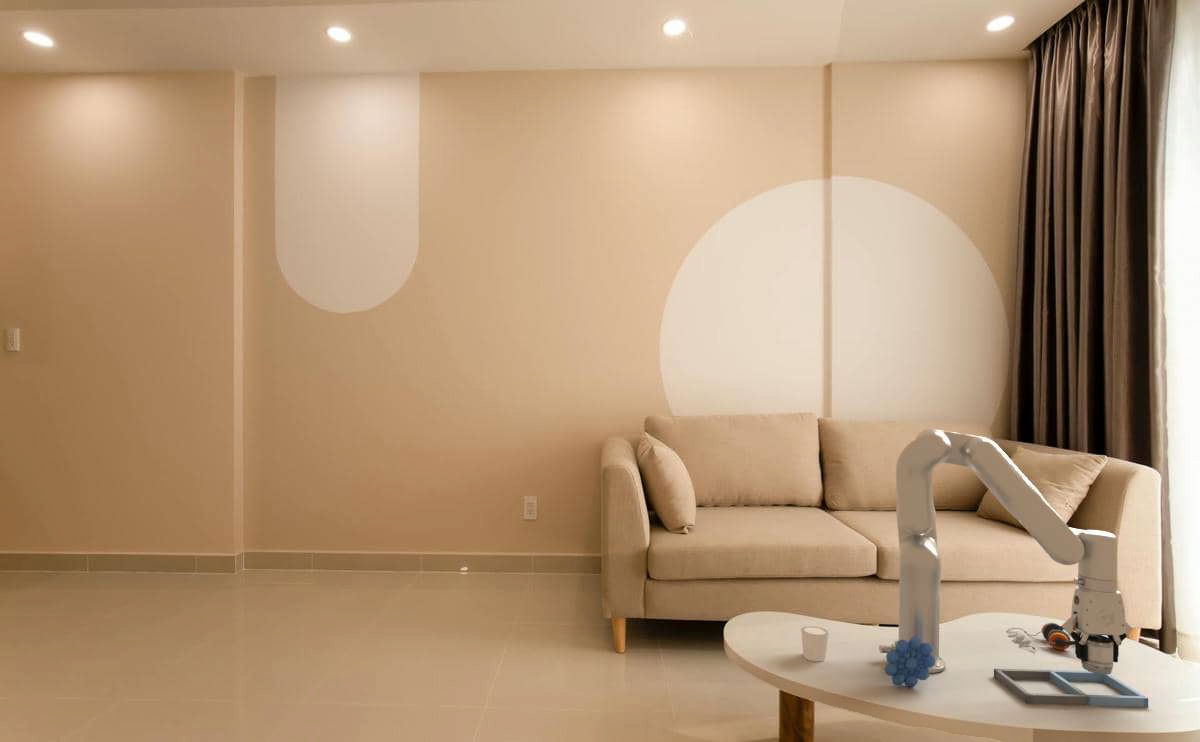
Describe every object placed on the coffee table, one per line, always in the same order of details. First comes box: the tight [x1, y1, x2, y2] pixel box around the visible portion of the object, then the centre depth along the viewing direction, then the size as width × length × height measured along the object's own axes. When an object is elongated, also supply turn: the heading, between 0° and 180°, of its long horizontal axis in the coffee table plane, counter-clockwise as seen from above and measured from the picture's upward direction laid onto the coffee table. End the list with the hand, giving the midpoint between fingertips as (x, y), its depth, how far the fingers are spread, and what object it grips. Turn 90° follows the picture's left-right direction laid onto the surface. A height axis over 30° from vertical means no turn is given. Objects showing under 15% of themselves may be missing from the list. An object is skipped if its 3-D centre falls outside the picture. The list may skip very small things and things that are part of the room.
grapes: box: [884, 637, 935, 688], centre depth 167 cm, size 12×7×12 cm, turn 87°
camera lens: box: [1080, 635, 1114, 675], centre depth 164 cm, size 6×6×8 cm
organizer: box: [993, 668, 1149, 708], centre depth 165 cm, size 27×14×2 cm, turn 89°
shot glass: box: [800, 625, 830, 662], centre depth 182 cm, size 7×7×7 cm
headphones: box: [1006, 622, 1077, 651], centre depth 193 cm, size 17×5×20 cm
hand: (1096, 659), depth 165 cm, fingers closed on camera lens, 6 cm apart
